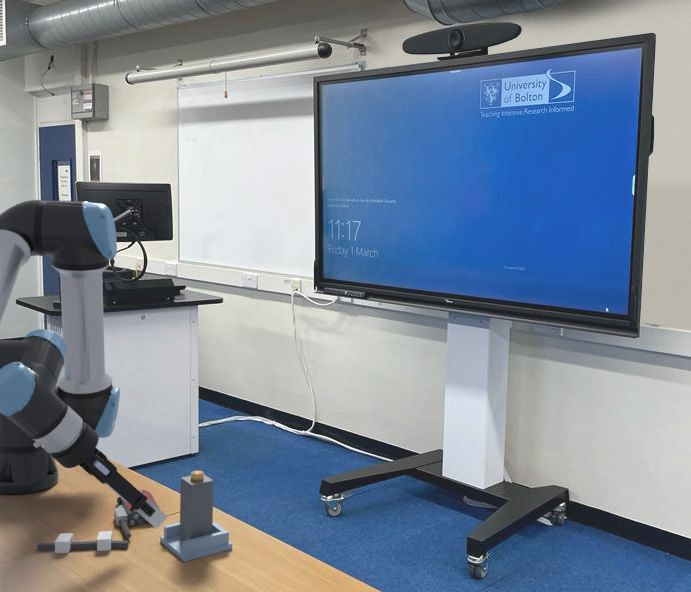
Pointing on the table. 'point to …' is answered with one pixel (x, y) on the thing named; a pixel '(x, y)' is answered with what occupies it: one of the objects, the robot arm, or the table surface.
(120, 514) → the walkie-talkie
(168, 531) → the tray
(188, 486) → the grey post with ball
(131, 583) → the table surface
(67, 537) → the cable run
